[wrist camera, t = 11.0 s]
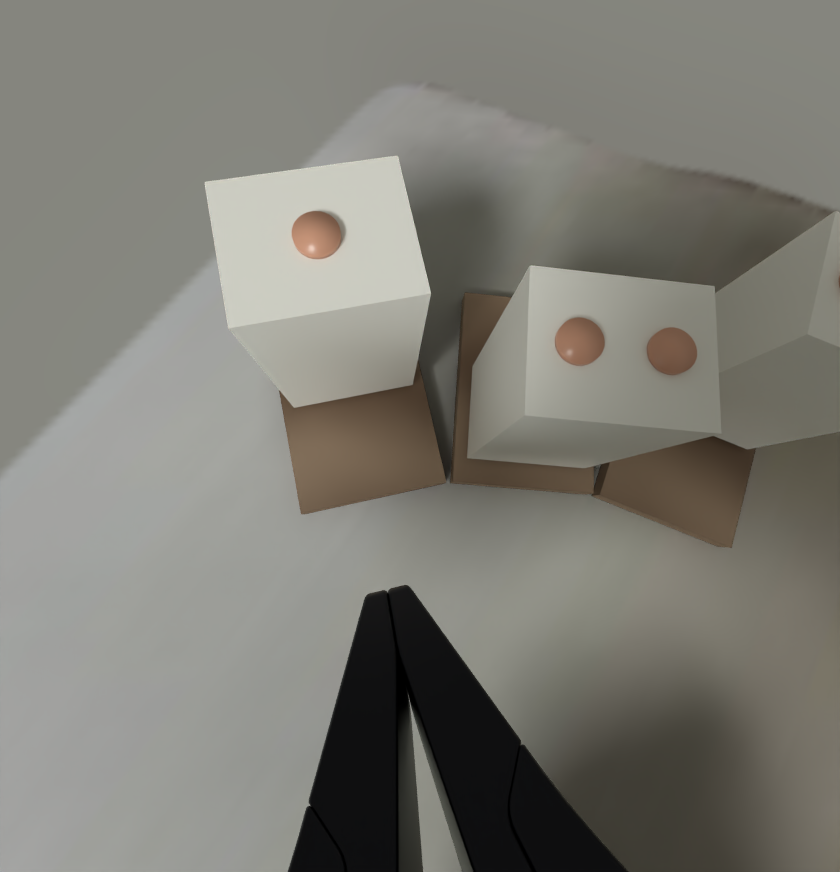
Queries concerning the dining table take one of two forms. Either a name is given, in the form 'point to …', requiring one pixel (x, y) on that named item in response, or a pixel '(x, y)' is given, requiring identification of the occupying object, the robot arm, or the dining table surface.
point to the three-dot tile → (782, 343)
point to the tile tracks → (422, 467)
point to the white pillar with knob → (323, 276)
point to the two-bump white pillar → (595, 370)
